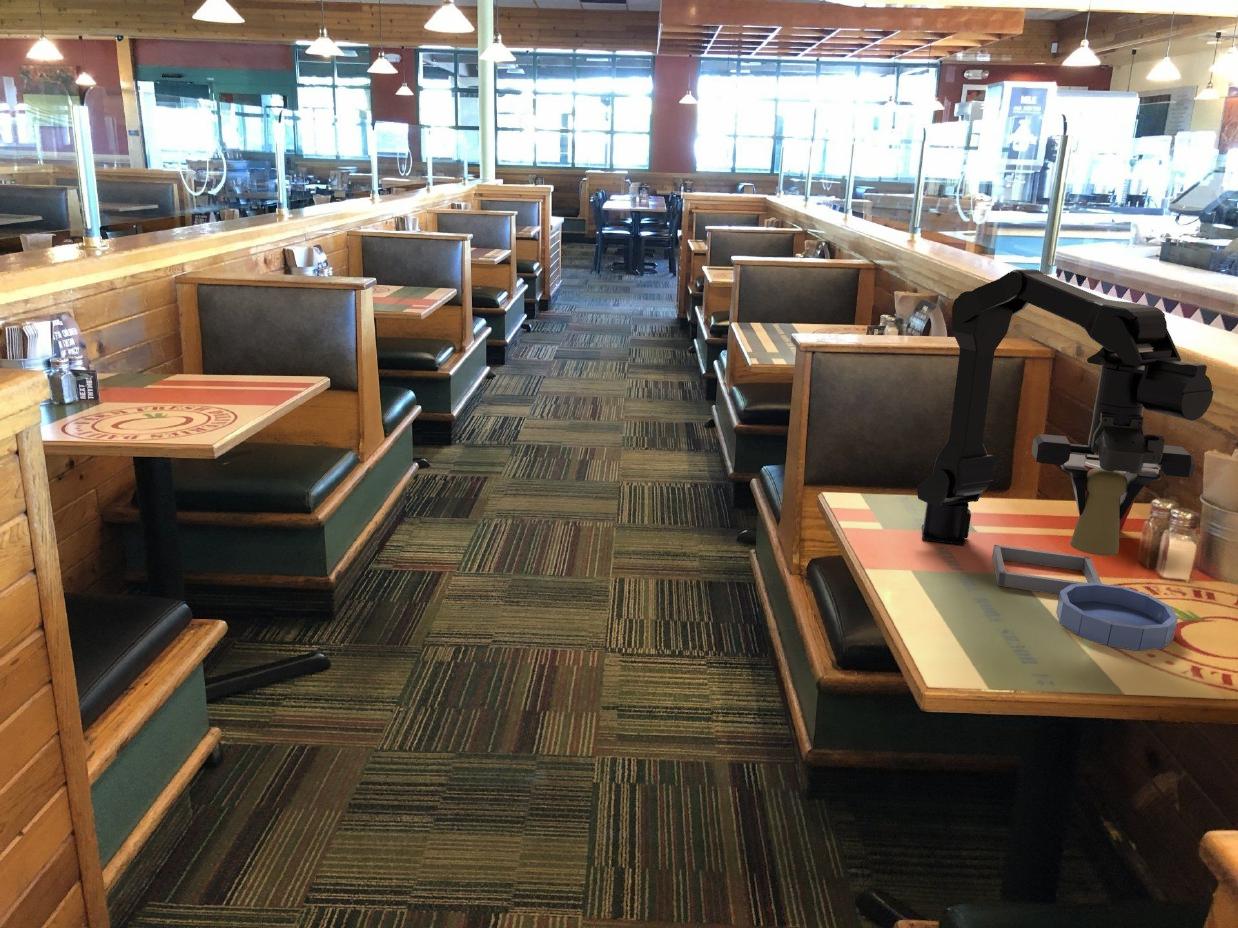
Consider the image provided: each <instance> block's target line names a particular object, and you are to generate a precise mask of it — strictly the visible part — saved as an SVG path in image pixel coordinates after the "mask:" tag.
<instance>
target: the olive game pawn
mask: <svg viewBox="0 0 1238 928" xmlns="http://www.w3.org/2000/svg"><path fill="white" fill-rule="evenodd" d="M1127 484H1128V483H1127V478H1126V476H1125V475H1124V474H1123V473H1121V472H1120V471H1113V472H1112V471H1106V470H1103V469H1102V468H1094V469H1091V470H1089V472H1088V474H1087V478H1086V491H1087V493H1086V496H1085V507H1084V511H1083V513H1082V515H1079V514H1078V517H1077V521H1076V523H1075V527H1074V531H1073V534H1072V537H1071V540H1070V543H1069V545H1070V546H1071V547H1072V548H1073V549H1074V550H1076V551H1079V552H1082V553H1086V554H1088V555H1094V556H1101V557H1102V556H1103V557H1104V556H1105V557H1106V556H1107V557H1109V556H1115V555H1117V554H1119V551H1120V534H1119V526H1120V497H1121V496H1122V495H1123V494H1124V492H1125V490H1126V488H1127Z"/></svg>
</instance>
